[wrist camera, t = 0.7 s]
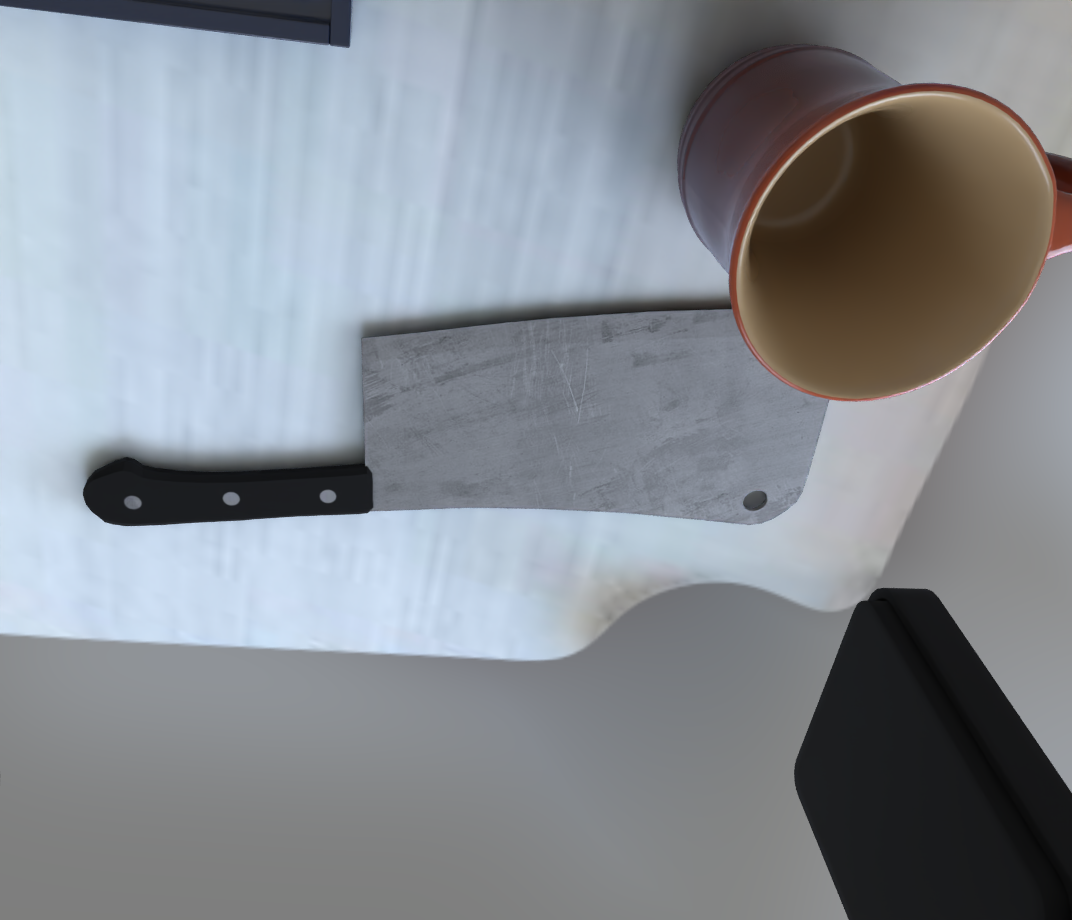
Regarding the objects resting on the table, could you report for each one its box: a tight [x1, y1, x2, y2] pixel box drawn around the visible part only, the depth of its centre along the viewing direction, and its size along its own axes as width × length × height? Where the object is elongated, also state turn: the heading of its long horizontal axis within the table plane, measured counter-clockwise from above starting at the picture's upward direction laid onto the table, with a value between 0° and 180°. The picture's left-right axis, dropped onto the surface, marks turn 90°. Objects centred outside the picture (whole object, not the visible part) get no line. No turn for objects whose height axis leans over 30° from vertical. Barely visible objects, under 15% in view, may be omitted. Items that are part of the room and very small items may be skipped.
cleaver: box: [83, 309, 829, 526], centre depth 39 cm, size 29×1×10 cm
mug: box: [677, 44, 1072, 402], centre depth 31 cm, size 12×9×10 cm
